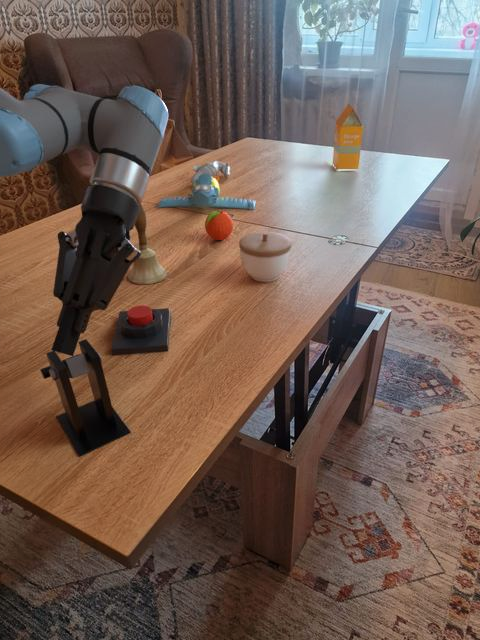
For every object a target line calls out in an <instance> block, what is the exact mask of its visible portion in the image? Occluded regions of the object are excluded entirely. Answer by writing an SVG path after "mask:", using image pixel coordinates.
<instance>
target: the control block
mask: <svg viewBox="0 0 480 640" xmlns="http://www.w3.org/2000/svg"><path fill="white" fill-rule="evenodd" d="M151 310H152V316H153V321H152V322H150V323H148V324H146V325H140V326H134V325H131V324H130V323H129V320H128V315H127V312H128V310H120V311H119V312H118V316H117V321H116V324H115V325H116V326H115V330H114V334H113V339H112V343H111V348H110V351H111V356H122V355H124V356H125V355H137V354H139V355H140V354H150V353H152V354H153V353H164V352H169V349H170V348H169V347H170V331H171V330H170V329H171V327H172V313H171V308H170V307H167V308H166V307H165V308H151Z"/></svg>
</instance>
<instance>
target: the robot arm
mask: <svg viewBox="0 0 480 640" xmlns="http://www.w3.org/2000/svg"><path fill="white" fill-rule="evenodd" d="M168 120H169V110H168V108H167V105H166V104H165V102H164V101H163V99H162V98H161V97H160V96H158V95H157V94H156V93H155V92H154V91H151V90H149V89H147V88H145V87H142V86H139V85H130V86H129V85H128V86H124V87H123V88H122V89H120V92H119V94H118V95H117V96H116V99H115V100H114V99H110V98H103V97H98V96H95V95H90V94H88V93H87V94H86V93H84V92H83V93H82V92H78V91H75V90H71V89H67V88H65V87H62V86H60V85H59V86H58V85H48V84H43V83H37V84H34V85H32V86H30V87H29V91H28V92H25V94H24V96H23V99H22V100H19V99H18V98H16V97H14V96H13V95H12V94H9V92H7V91H6V90H4V89H3V88H1V87H0V178H8V177H13V176H16V175H20V174H23V173H28V172H32V171H33V170H35V169H36V168H38V166H41V165H42V164H44V163H46V162H48V161H51V160H52V159H56V158H59V157H61V156H62V155H65V154H67V153H69V152H71V151H74V150H82V151H87V152H90V153H93V154H98V156H97V159H96V162H95V165H94V167H93V170H92V172H91V176H90V179H89V184H90V185H89V186H87V189H86V191H85V193H84V197H83V199H82V202H81V205H80V212H81V218H80V220H79V221H78V222H77V223H76V225H75V227H74V230H71V231H69V232H67V233H66V232H65V231H59V232H58V233H57V241H58V246H59V248H58V255H57V262H56V270H55V279H54V285H53V294H52V295H53V297H54V298H57V299H58V300H59V301H61V303H62V305H61V306H62V307H61V309H60V313H59V315H58V318H57V321H56V327H57V328H58V329H57V332H56V336H55V338H54V341H53V344H52V347H51V351H55V352H56V353H60V354H63V355H67V356H69V357H72V356H75V352H76V349H77V346H78V344H79V341H80V340H79V339H80V337H81V334H83V335H84V334H85V332H86V330H87V327H88V324H89V322H90V319H91V316H92V314H93V312H95V311H106V309H108V307H109V305H110V303H111V301H112V299H113V298H114V296H115V294H116V293H117V291H118V289H119V287H120V285H121V284H122V282H123V280H124V278H125V277H126V274H127V273H128V271H129V269H130V268H131V266H133V264H134V262H135V261H136V260H137V259H138V258H139V257H140V255H141V252H140V251H139V248H137V247H136V246H134V245H133V244H132V243H131V231H132V230H134V228H135V222H136V219H137V216H138V213H139V210H140V208H139V205H138V204H142V202H143V199H144V198H145V197H144V196H145V194H146V190H147V188H148V184H149V181H150V178H151V175H152V172H153V168H154V165H155V163H156V160H157V158H158V155H159V152H160V148H161V146H162V143H163V142H164V139H165V133H166V129H167V124H168Z"/></svg>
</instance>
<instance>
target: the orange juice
mask: <svg viewBox="0 0 480 640" xmlns="http://www.w3.org/2000/svg"><path fill="white" fill-rule="evenodd" d="M363 132H364V126H363V124H362V123H361V121H360V118H359V116H358V115H357V112H356V111H355V109H354V107H353V106H351V105H350V104H347V105H346V106H345V108H344V109H343V111H342V112H341V114H340V115H339V116H338V117H337V119H336V120H335V128H334V139H333V153H332V164H334V166H335V167H336V169H337V170H338V169H358V170H359V167H360V157H361V150H362V140H363Z"/></svg>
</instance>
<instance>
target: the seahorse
mask: <svg viewBox="0 0 480 640" xmlns="http://www.w3.org/2000/svg"><path fill="white" fill-rule="evenodd" d="M192 170H193V171H194V172H195V173H193V175H192V177H191V181H190V182H191V183H192V185H194V182H195V181H194V180H196V179H198V178H199V176H200V175H202V174H206V173H207V174H208V175H211V177H213V178H214V175H216V176H218V172H220V174H222V175H223V176H224V178H225V179H226V180H227V179H229V178H230V171H231V166H230V165H229V162H228V161H227V162H226V163H224V162H222V161H219V160H218V161H217V160H212V161H209V162H206V163H204V164H201V165H195V166H193V168H192Z"/></svg>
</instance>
